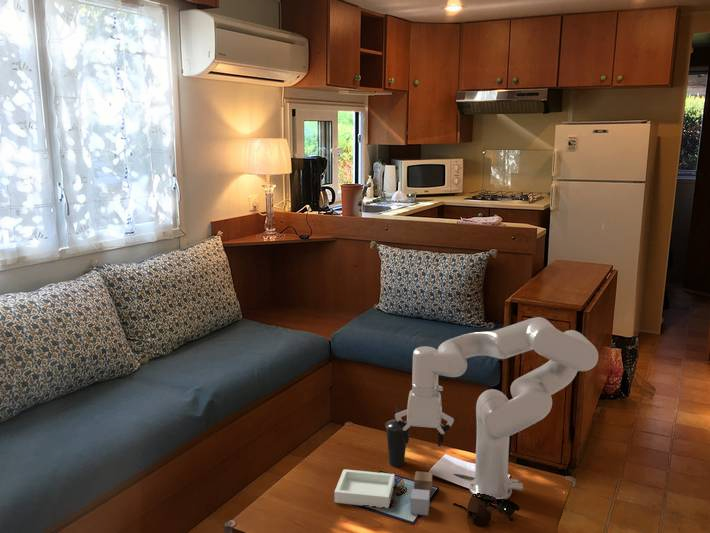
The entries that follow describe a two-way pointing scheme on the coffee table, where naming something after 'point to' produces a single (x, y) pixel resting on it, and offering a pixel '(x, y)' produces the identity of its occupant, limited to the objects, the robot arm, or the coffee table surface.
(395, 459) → the drinking cup
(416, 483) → the walnut block
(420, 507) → the grey block
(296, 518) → the coffee table surface
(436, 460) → the coffee table surface
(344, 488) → the white tray
